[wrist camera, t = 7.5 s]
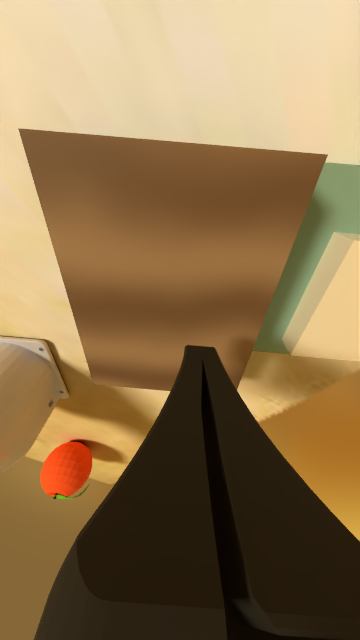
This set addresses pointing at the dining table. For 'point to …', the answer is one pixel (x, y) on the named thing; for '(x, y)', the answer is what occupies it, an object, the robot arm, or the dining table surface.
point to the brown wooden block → (167, 245)
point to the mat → (312, 247)
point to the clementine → (66, 470)
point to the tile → (330, 305)
